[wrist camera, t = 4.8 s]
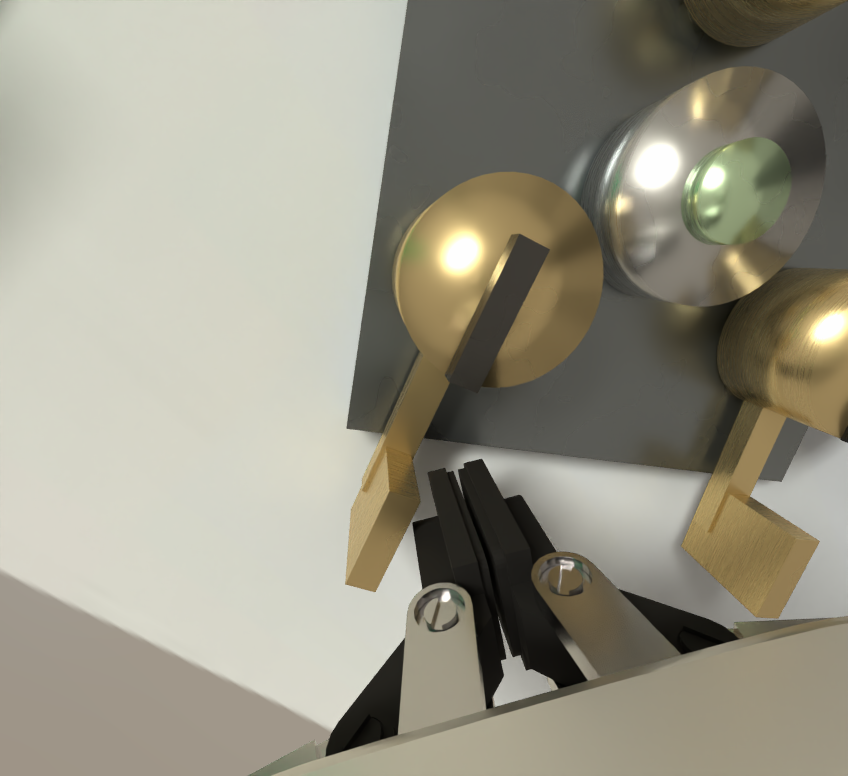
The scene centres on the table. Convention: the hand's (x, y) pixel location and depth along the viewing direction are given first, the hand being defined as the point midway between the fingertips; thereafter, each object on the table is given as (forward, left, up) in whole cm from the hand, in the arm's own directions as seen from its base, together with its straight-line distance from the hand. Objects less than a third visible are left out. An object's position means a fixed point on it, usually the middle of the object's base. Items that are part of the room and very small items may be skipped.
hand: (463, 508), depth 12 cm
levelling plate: (-9, +4, -3) cm, 11 cm away
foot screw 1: (-4, -2, -1) cm, 4 cm away
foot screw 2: (-3, +9, -1) cm, 10 cm away
